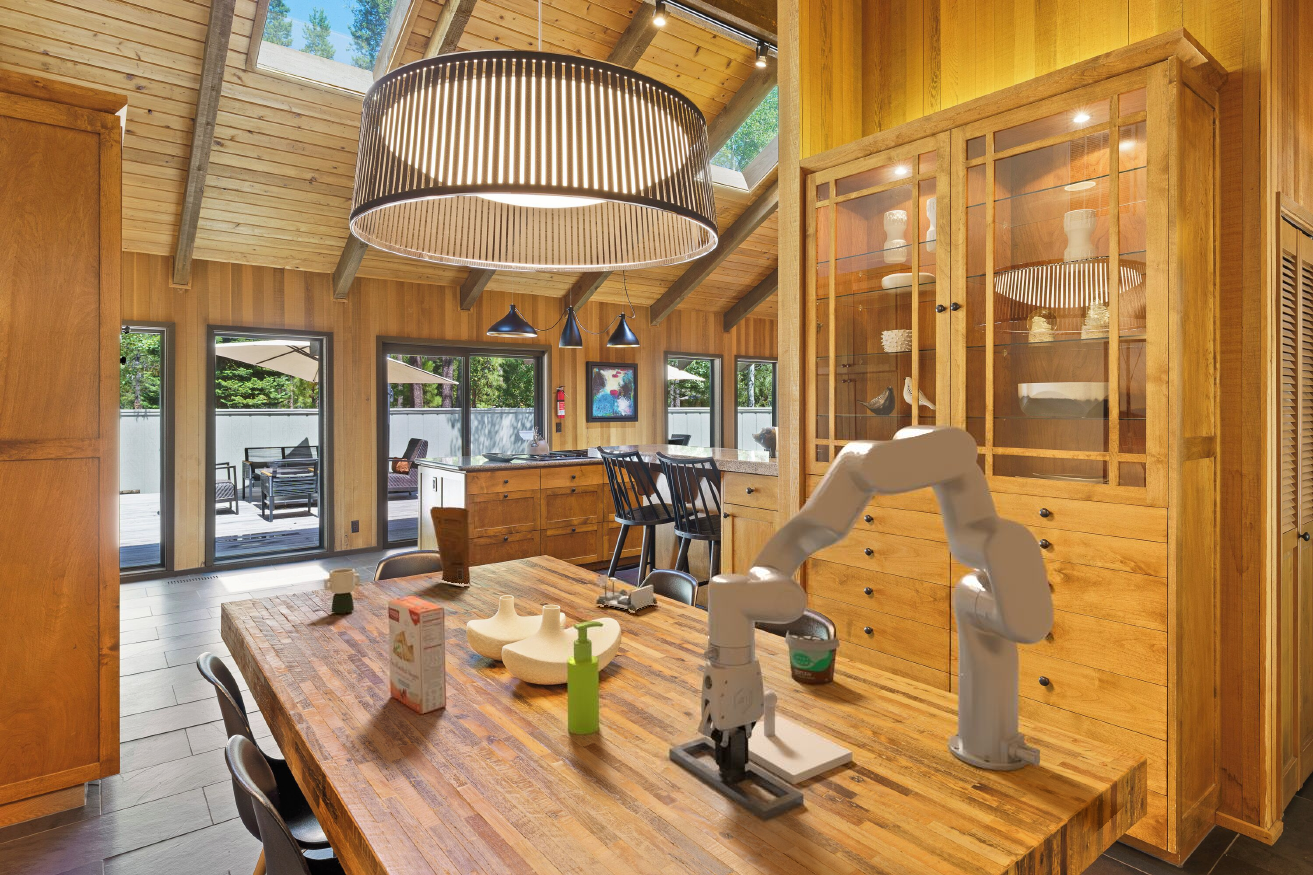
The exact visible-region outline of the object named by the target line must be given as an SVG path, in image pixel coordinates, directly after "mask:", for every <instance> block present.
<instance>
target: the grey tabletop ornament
mask: <svg viewBox="0 0 1313 875" xmlns="http://www.w3.org/2000/svg"><path fill="white" fill-rule="evenodd" d="M608 581H609V582H611V583H612V591H611V592H607V584H608ZM595 582H596V583H597V584H598V585H600V586H604V594H601V595H599V596H598V599H597V600H596V602H595V603H596V604H602V605H604V604H607V605H612V606H617V607H621V608H627V609H628V610H629V609H630V610H633V611H636V612H637V610H636V609H637V608H641V607H644V606H647V605H649V604H653V603H654V604H657V605H658V600H657V598H656V597H654V585H653V584H649V585H646V586H642V587H639V588H636V589H633V590H630V593H629V595H627V594H628V592H627V591H626V589H621V590H620V591H619V592H618V593H617V592H615V583H616V582H617V578H614V577H610V578H608V575H607V574H602V575H601V574H598V578H597V579H596V580H595ZM596 604H595V605H596ZM647 607H648V606H647ZM644 608H645V607H644ZM641 609H642V608H641Z"/></svg>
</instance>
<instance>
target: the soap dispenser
mask: <svg viewBox="0 0 1313 875" xmlns="http://www.w3.org/2000/svg"><path fill="white" fill-rule="evenodd" d="M603 626H604V624H603V623H601V622H600V621H595V620H594V621H593V620H592V621H591V620H588V621H583V622H579V623H574V624H573V628H574V629H576V630H577V639H576V640H574V641H573V656H571V657H569V658H568V659H567V662H566V665H567V667H566V668H567V669H566V670H567V671H566V672H567V673H566V674H567V729H568V732H569V733H571V734H575V735H581V736H582V735H590V734H593V733H595V732H598V730H599V729H600V728H599V727H600V700H599V697H600V695H599V694H600V693H599V692H600V689H599V687H600V686H599V681H600V680H599V677H600V676H599V675H600V674H599V673H600V672H599V657H597V656H595V655H593V653H592V652H593V648H592V647H593V644H592V643H593V642H592V640H591V639H589V638H588V629H590V628H595V627H596V628H597V627H601V628H602V627H603Z"/></svg>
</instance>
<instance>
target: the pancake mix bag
mask: <svg viewBox="0 0 1313 875" xmlns="http://www.w3.org/2000/svg"><path fill="white" fill-rule="evenodd" d="M429 511H430V517H431V521H432V525H433V529H434V535H435V539H436V544H437V549H438V553H439V561H440V566H441V569H442V570H441V571H442V576H441V580H444V581H447V582H451V583H459V584H460V583H461V584H462V583H464V584H468V583H469V584H470V585H471V581H470V580H471V577H470V550H471V549H470V548H471V546H470V525H469V523H470V518H469V516H470V515H469V514H470V510H469V509H467V508H464V507H455V506H453V507H452V506H444V507H443V506H432V508H431V509H430V510H429Z"/></svg>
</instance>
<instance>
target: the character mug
mask: <svg viewBox="0 0 1313 875" xmlns="http://www.w3.org/2000/svg"><path fill="white" fill-rule="evenodd" d="M360 579H361V575H360V574H359V573H356V569H354V568H337V569H332V570H330V571H329V578H326V579H324V581H323V588H324V590H325V591H329V592H331V593H332V594H334V595H333V596H332V603H331V613H333V614H334V613H335V614H337V613H339V614H347V613H346V612H348V613H351V612H353V611H354V610H355V606H354V601H353V595H352V592H353V591H354V590H355V589H356V585H357V586H358V585H360V584H361V580H360ZM328 583H329V584H328ZM328 585H329V586H328ZM350 611H351V612H350Z"/></svg>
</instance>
